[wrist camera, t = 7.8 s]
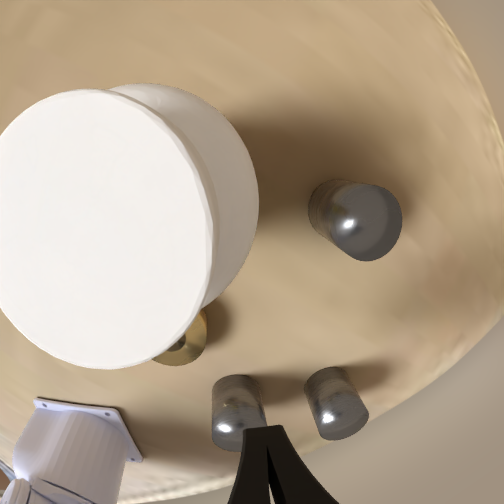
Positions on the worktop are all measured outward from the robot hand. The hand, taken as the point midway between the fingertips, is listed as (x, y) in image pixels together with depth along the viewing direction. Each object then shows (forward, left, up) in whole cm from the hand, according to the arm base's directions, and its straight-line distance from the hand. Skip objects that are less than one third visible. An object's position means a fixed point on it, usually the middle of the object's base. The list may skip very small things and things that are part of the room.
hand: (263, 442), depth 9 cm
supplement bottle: (-3, +8, -10) cm, 14 cm away
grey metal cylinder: (+6, +6, -10) cm, 13 cm away
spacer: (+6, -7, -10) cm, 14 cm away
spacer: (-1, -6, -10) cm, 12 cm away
